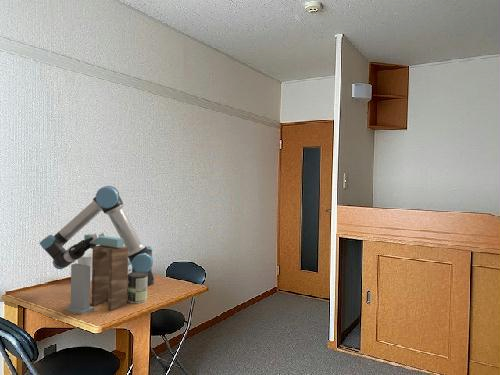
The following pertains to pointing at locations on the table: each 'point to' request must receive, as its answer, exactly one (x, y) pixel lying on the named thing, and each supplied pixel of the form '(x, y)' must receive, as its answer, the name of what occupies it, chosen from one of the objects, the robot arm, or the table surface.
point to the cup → (86, 261)
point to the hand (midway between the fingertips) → (101, 235)
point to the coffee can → (137, 287)
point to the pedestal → (80, 289)
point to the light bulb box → (129, 267)
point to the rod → (106, 241)
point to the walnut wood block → (109, 276)
